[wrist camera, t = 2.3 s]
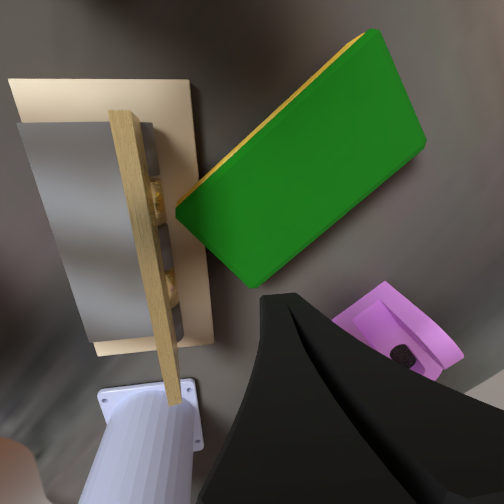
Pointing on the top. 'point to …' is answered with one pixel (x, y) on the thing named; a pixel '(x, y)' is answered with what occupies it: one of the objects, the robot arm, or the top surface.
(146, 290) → the strip
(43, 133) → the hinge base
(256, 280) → the dish sponge
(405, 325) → the bracket
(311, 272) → the top surface
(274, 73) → the top surface
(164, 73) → the top surface
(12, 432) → the top surface
